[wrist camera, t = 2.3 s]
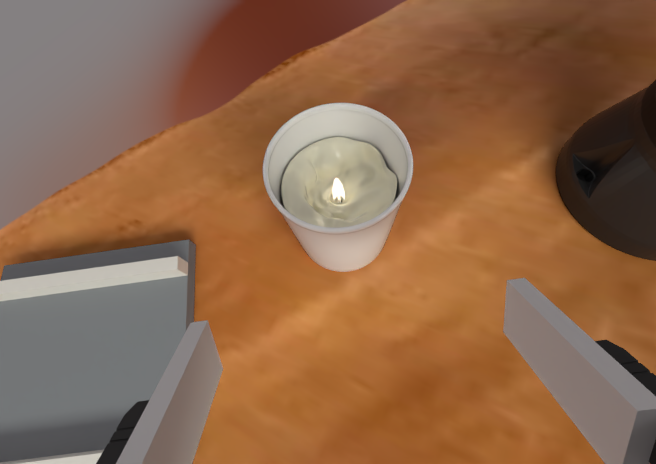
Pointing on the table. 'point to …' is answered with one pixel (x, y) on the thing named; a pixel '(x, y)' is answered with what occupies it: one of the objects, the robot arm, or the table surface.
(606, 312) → the table surface
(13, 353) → the grey tray with rails
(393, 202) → the candle holder
